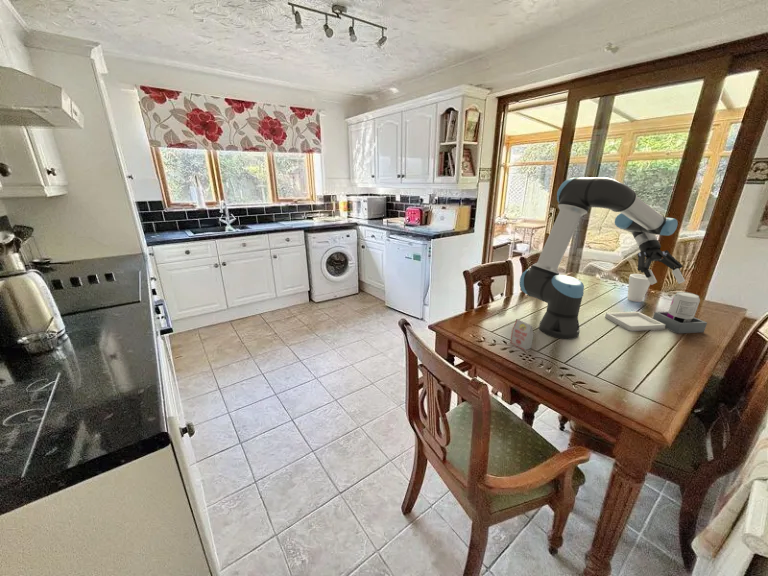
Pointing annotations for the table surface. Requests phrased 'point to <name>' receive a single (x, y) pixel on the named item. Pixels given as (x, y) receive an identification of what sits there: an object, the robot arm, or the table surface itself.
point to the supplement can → (683, 307)
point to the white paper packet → (522, 335)
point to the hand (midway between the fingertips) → (667, 283)
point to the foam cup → (637, 287)
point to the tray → (635, 321)
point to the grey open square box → (680, 324)
